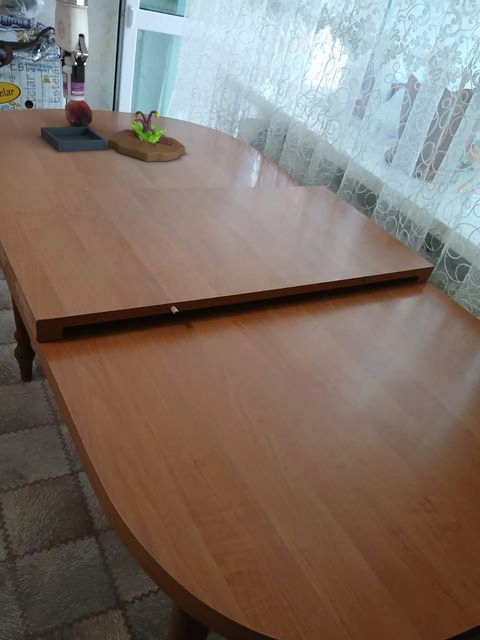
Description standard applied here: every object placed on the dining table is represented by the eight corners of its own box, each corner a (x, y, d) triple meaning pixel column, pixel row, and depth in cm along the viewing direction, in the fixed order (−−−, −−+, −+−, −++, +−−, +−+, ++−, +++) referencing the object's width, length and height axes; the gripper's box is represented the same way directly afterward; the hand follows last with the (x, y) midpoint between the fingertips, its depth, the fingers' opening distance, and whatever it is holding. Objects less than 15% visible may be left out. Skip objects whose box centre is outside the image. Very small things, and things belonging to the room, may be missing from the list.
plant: (152, 166, 148) (155, 124, 142) (97, 144, 154) (97, 102, 147) (194, 154, 163) (198, 115, 157) (143, 134, 169) (145, 95, 162)
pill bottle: (86, 98, 146) (86, 58, 141) (80, 102, 142) (80, 62, 136) (66, 94, 146) (65, 54, 140) (60, 98, 142) (58, 57, 136)
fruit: (85, 124, 166) (85, 96, 162) (97, 132, 162) (97, 104, 157) (60, 124, 162) (60, 95, 157) (71, 133, 157) (71, 103, 153)
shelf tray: (58, 151, 144) (58, 141, 142) (41, 136, 150) (40, 127, 149) (106, 149, 152) (106, 140, 150) (87, 135, 158) (87, 126, 157)
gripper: (42, -12, 133) (45, 69, 144) (72, 3, 124) (73, 88, 134) (71, -8, 138) (72, 70, 148) (103, 7, 128) (101, 89, 139)
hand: (73, 78), depth 141 cm, fingers closed on pill bottle, 5 cm apart
